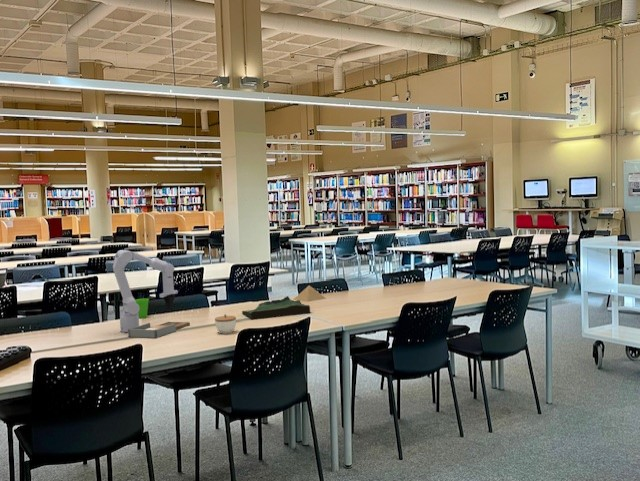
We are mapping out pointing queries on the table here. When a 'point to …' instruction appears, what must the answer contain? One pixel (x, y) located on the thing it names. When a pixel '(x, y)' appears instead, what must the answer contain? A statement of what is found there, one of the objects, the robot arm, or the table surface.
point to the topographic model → (277, 309)
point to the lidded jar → (225, 324)
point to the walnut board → (176, 324)
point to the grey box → (150, 331)
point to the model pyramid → (309, 295)
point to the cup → (142, 307)
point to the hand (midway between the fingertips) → (169, 308)
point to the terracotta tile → (158, 326)
